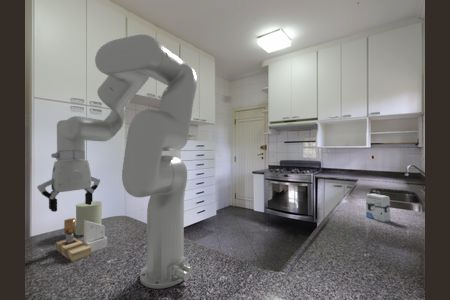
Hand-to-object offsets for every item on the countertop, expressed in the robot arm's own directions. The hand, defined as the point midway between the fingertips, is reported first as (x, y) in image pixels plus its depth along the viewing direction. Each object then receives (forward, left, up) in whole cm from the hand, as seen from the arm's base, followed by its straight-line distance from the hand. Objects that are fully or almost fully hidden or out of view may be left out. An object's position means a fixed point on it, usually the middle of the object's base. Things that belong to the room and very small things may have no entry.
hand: (72, 207), depth 67 cm
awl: (+1, 0, -14) cm, 14 cm away
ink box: (-88, -98, -14) cm, 132 cm away
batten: (-2, 0, -14) cm, 14 cm away
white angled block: (-5, -5, -15) cm, 16 cm away
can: (+14, -11, -14) cm, 23 cm away
